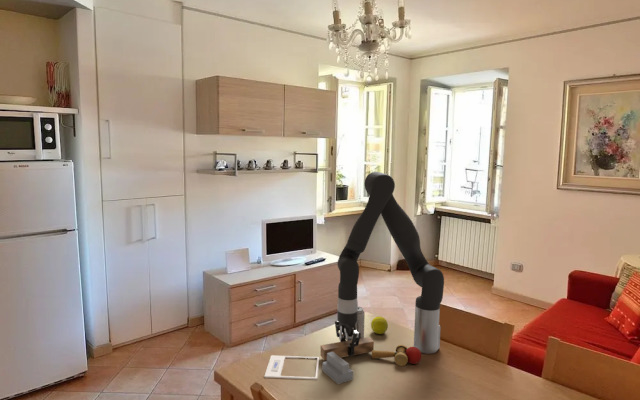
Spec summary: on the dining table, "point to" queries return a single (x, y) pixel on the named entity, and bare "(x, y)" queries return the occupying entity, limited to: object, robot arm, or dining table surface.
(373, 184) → the robot arm
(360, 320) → the energy drink can
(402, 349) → the kendama
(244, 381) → the dining table surface
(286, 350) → the dining table surface
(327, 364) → the fulcrum
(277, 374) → the photo frame
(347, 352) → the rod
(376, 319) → the tennis ball
